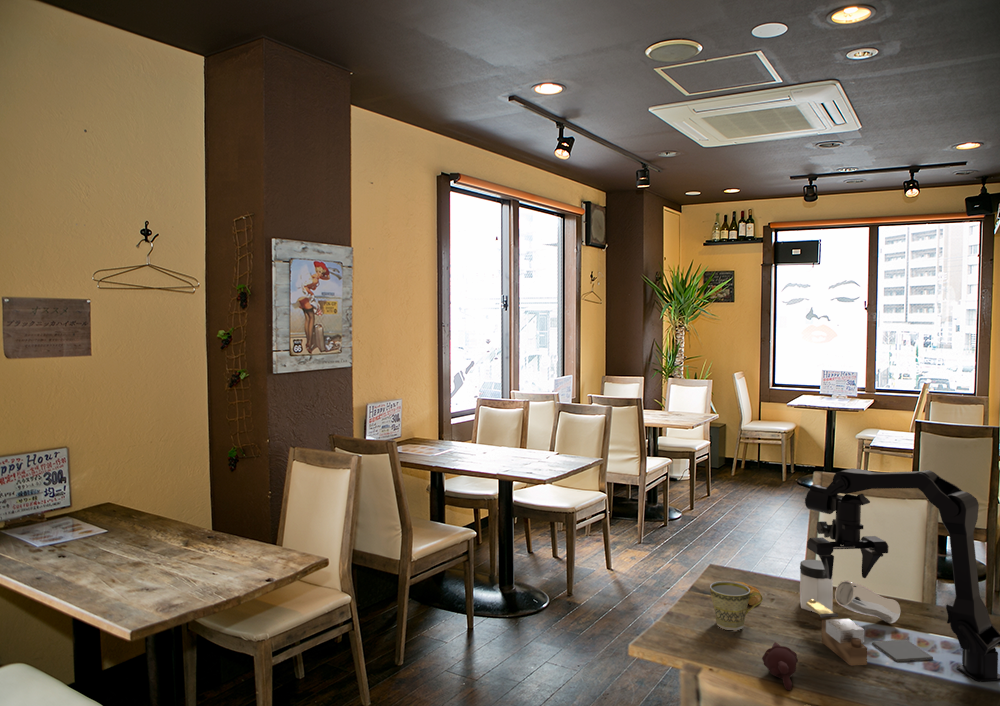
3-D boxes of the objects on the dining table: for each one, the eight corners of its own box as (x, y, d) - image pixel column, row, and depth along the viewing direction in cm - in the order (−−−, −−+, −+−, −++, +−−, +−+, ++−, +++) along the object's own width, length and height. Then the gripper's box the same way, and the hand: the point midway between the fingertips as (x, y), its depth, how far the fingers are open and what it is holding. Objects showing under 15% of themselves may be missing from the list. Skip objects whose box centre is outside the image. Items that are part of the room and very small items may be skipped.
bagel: (750, 610, 193) (750, 593, 192) (714, 599, 201) (714, 583, 201) (768, 601, 199) (768, 584, 199) (732, 590, 207) (732, 574, 207)
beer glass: (906, 611, 180) (859, 593, 177) (889, 630, 182) (842, 612, 179) (892, 592, 186) (846, 574, 183) (876, 611, 189) (830, 593, 186)
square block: (863, 642, 164) (864, 629, 164) (840, 643, 164) (840, 630, 163) (848, 630, 170) (848, 618, 170) (825, 632, 170) (825, 619, 169)
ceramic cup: (710, 632, 179) (710, 593, 179) (708, 616, 189) (708, 579, 188) (764, 637, 176) (765, 598, 176) (759, 620, 186) (760, 583, 185)
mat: (932, 659, 164) (932, 656, 164) (896, 661, 163) (896, 659, 163) (906, 641, 173) (906, 639, 173) (872, 644, 172) (872, 641, 172)
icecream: (755, 631, 165) (764, 667, 151) (788, 626, 163) (800, 662, 149) (762, 658, 166) (772, 697, 151) (795, 654, 164) (808, 693, 149)
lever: (838, 619, 173) (838, 611, 173) (821, 620, 173) (821, 612, 173) (817, 605, 182) (817, 597, 182) (802, 605, 182) (802, 598, 182)
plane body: (867, 664, 162) (867, 640, 161) (850, 665, 161) (850, 641, 161) (837, 641, 173) (837, 618, 173) (821, 642, 173) (821, 619, 173)
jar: (798, 599, 200) (799, 557, 199) (830, 602, 197) (830, 560, 196) (800, 611, 191) (801, 568, 191) (833, 615, 188) (834, 571, 188)
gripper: (864, 508, 189) (863, 566, 190) (797, 510, 188) (796, 568, 188) (890, 521, 178) (888, 581, 179) (818, 522, 177) (817, 583, 177)
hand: (846, 578), depth 181 cm, fingers open, 9 cm apart
